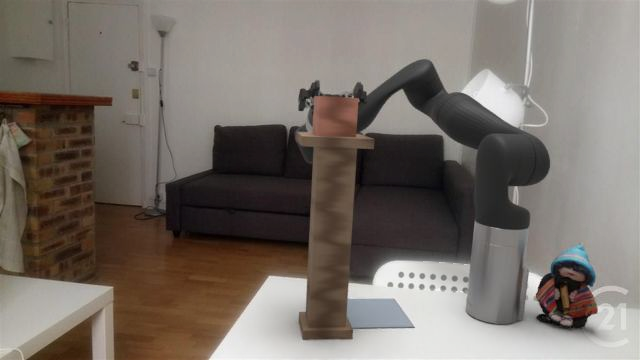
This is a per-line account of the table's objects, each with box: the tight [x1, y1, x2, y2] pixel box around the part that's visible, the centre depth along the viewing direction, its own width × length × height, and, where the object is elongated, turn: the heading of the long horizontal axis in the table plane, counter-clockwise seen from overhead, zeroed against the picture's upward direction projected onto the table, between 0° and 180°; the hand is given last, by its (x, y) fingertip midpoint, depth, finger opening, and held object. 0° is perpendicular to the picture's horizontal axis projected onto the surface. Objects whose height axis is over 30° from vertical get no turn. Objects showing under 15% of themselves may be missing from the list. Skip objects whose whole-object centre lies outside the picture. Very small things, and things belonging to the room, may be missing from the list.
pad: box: [347, 298, 416, 330], centre depth 89 cm, size 11×12×1 cm
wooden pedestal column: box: [295, 132, 375, 341], centre depth 81 cm, size 11×10×32 cm
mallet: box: [313, 96, 359, 137], centre depth 84 cm, size 6×17×6 cm, turn 9°
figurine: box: [535, 243, 599, 330], centre depth 87 cm, size 10×7×15 cm
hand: (339, 85), depth 98 cm, fingers open, 8 cm apart
